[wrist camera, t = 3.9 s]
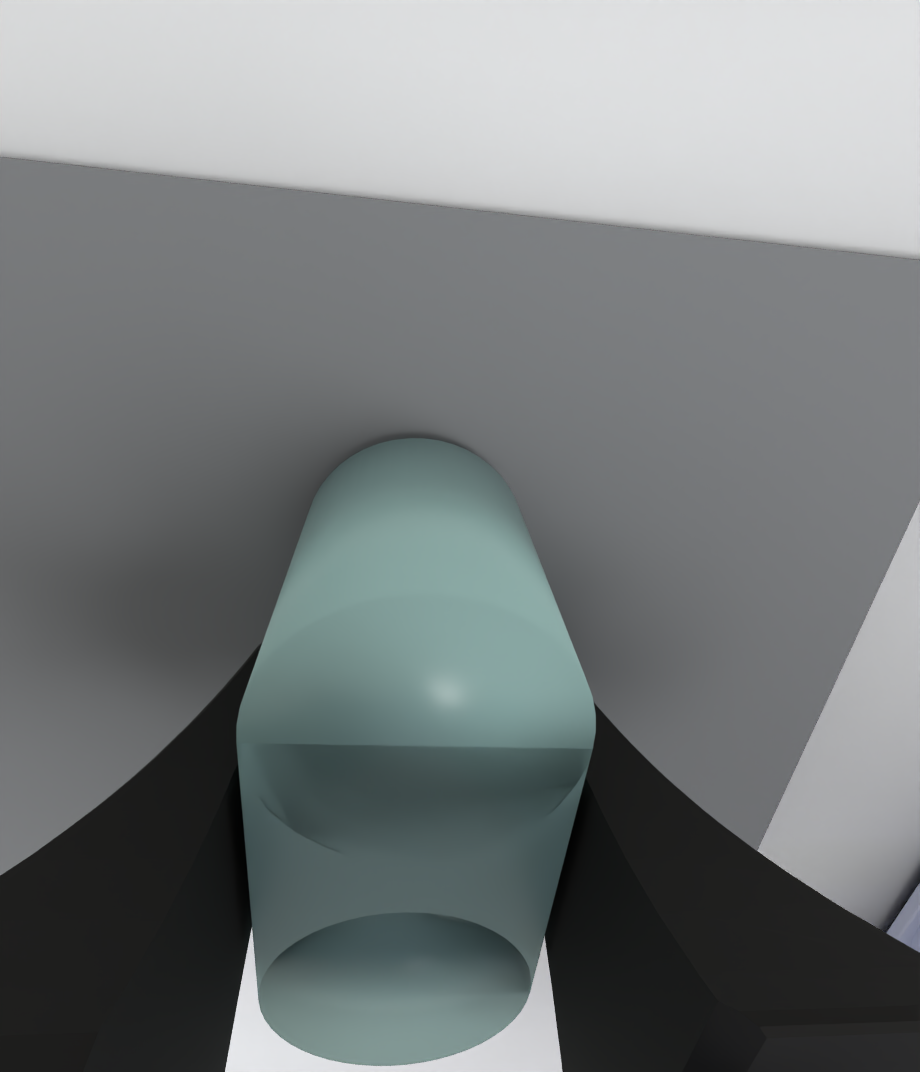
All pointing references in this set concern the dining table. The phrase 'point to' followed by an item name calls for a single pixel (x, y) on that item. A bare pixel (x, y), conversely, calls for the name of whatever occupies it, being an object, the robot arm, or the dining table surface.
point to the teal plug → (408, 762)
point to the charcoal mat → (440, 414)
